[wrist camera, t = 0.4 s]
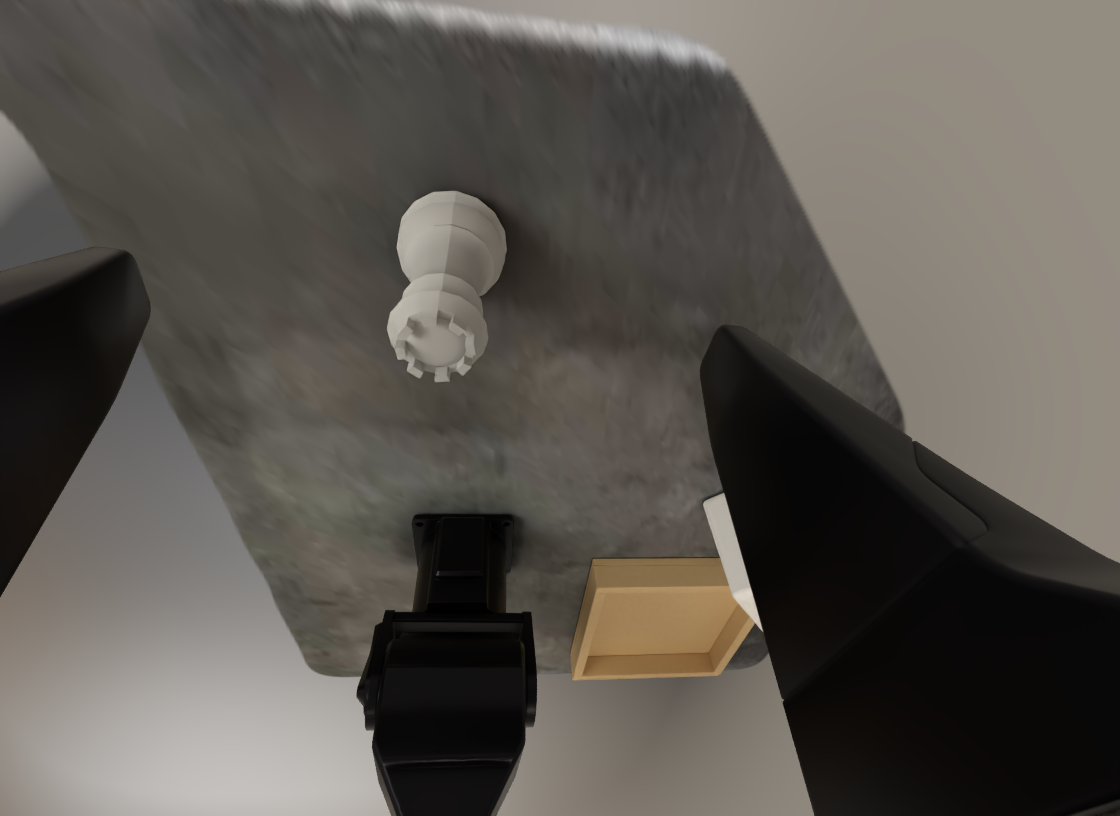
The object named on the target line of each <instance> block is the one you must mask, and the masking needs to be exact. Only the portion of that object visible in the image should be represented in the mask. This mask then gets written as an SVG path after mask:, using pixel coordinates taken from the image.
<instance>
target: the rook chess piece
mask: <svg viewBox="0 0 1120 816" xmlns="http://www.w3.org/2000/svg"><path fill="white" fill-rule="evenodd" d="M397 251H398V255H399V259H400V263H401V267H402V271H403V272H404V273H405V275H406V276H407V278H408V279H409V280H410V282H411V284H410V285H409V286H408V287H407V288H406V289H405V291H404V293H403V297H402V300H401V301H400V302H399V303H398V304H397V306H396V307H395V308H394V309H393V310H392V311H391V313H390V317H389V321H388V326H387V331H388V334H389V338H390V342H391V345H392V346H393V347H394V349H395V351H396V355H397V359H398V360H401V359H404V360H406V361H407V362H409V364H408V368H407V371H408V372H409V373H411V374H413V375H415V376H416V377H418V378H420V377H421V376H422V374H423V372H424V371H428V372H432V373H435V382H445V381H450V374H451V372H456V371H458V372H459V373H460V374H461V375H462V376H463V375H464V374H465V373H466V372H467V371H468V370H469V369H470V368H471V367H472V364H473V363H474V362H475V361H476V360H477V359H478V358H479V357H480V356H482V355H483V353H484V350H485V348H486V345H487V342H488V332H487V324H486V322H485V320H484V319H483V317H482V316H483V308H482V301H481V299H480V296H482V295H484V294H485V293H486V292H487V291H488V290H489V289H490V288H491V287H492V286H493V285H494V284H495V283H496V282H497V280H498V279H499V277H500V274H501V271H502V268H503V265H504V262H505V255H506V252H507V247H506V237H505V230H504V229H503V227H502V225H501V223H500V221H499V219H498V218H497V216H496V214H495V212H493V211H492V210H491V209H490V208H489V207H487V206H486V205H485V204H484V203H483V202H481V201H480V200H479V199H478V198H475V197H472V196H469V195H467V194H464V193H461V192H458V191H443V192H432V193H430V194H428V195H426V196H424V197H422V198H420V199H418V200H416V201H414V203H413V204H412V205H411V206H410V208H409V209H408V210H407V212H406V213H405V214H404V215H403V217H402V220H401V225H400V230H399V234H398V242H397Z"/></svg>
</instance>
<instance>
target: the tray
mask: <svg viewBox="0 0 1120 816" xmlns="http://www.w3.org/2000/svg"><path fill="white" fill-rule="evenodd" d="M754 624H755V622H754V621H753V620H752V619H751V618H750V616H749V615H748V614H747V613H746V612H745V611H744V609H743V608H742V607H741V606H740V605H739V604H738V603H737V601H736V600H735V599H734V598H733V596H732V593H731V590H730V587H729V584H728V581H727V577H726V574H725V571H724V568H723V565H722V562H721V559H720V558H640V559H593V560H592V565H591V569H590V573H589V577H588V582H587V586H586V590H585V594H584V598H583V603H582V607H581V611H580V615H579V619H578V624H577V628H576V632H575V636H574V641H573V645H572V649H571V653H570V657H571V669H572V679H573V680H596V679H628V678H661V677H691V676H719V675H720V674H721V672H722V671H723V670H724V668H725V667H726V665H727V664H728V662H729V661H730V659H731V658H732V656H733V655H734V653H735V652H736V650H737V649H738V647H739V646H740V645H741V643H742V642H743V640H744V639H745V637H746V636H747V634H748V633H749V631H750V630H751V628H752V627H753V625H754Z"/></svg>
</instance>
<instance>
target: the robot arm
mask: <svg viewBox="0 0 1120 816" xmlns="http://www.w3.org/2000/svg"><path fill="white" fill-rule="evenodd" d="M150 309H151V308H150V301H149V298H148V295H147V292H146V289H145V286H144V283H143V280H142V277H141V274H140V271H139V268H138V265H137V263H136V260H135V259H134V257H133V256H132V255H131V254H130V253H129V252H127V251H125V250H120V249H112V248H104V247H90V248H87V249H83V250H79V251H75V252H72V253H68V254H64V255H60V256H57V257H52V258H49V259H45V260H41V261H37V262H33V263H30V264H26V265H22V266H19V267H15V268H11V269H7V270H3V271H0V597H1V595H2V593H3V592H4V590H5V588H6V587H7V585H8V583H9V581H10V580H11V578H12V576H13V575H14V573H15V571H16V569H17V568H18V566H19V564H20V563H21V561H22V559H23V557H24V556H25V554H26V552H27V551H28V549H29V547H30V546H31V544H32V542H33V540H34V539H35V537H36V535H37V534H38V532H39V530H40V528H41V527H42V525H43V523H44V521H45V520H46V518H47V516H48V515H49V513H50V511H51V510H52V508H53V506H54V504H55V503H56V501H57V499H58V498H59V496H60V494H61V492H62V491H63V489H64V487H65V486H66V484H67V482H68V481H69V478H70V477H71V475H72V474H73V472H74V470H75V468H76V467H77V465H78V463H79V462H80V460H81V458H82V457H83V455H84V453H85V451H86V450H87V448H88V446H89V444H90V443H91V441H92V439H93V438H94V436H95V434H96V433H97V431H98V429H99V427H100V426H101V424H102V422H103V421H104V419H105V417H106V415H107V414H108V412H109V410H110V408H111V406H112V405H113V403H114V401H115V399H116V397H117V395H118V392H119V390H120V388H121V386H122V383H123V381H124V379H125V376H126V374H127V371H128V369H129V366H130V364H131V361H132V359H133V357H134V354H135V352H136V349H137V347H138V345H139V342H140V340H141V337H142V335H143V332H144V330H145V328H146V325H147V323H148V320H149V317H150ZM700 380H701V386H702V393H703V399H704V406H705V412H706V418H707V425H708V431H709V437H710V443H711V447H712V451H713V455H714V459H715V463H716V466H717V470H718V473H719V477H720V481H721V484H722V488H723V491H724V495H725V498H726V502H727V505H728V509H729V513H730V516H731V520H732V523H733V527H734V530H735V534H736V537H737V541H738V544H739V548H740V552H741V555H742V559H743V562H744V566H745V569H746V573H747V576H748V580H749V584H750V587H751V591H752V594H753V598H754V601H755V605H756V608H757V612H758V616H759V619H760V623H761V626H762V630H763V633H764V637H765V640H766V644H767V648H768V651H769V655H770V658H771V662H772V665H773V669H774V672H775V676H776V680H777V683H778V687H779V690H780V694H781V697H782V699H784V701H783V706H784V709H785V713H786V716H787V720H788V723H789V727H790V730H791V734H792V738H793V741H794V745H795V748H796V752H797V755H798V759H799V762H800V766H801V769H802V773H803V777H804V780H805V784H806V787H807V791H808V794H809V798H810V801H811V805H812V809H813V812H814V816H1120V563H1118V562H1116V561H1114V560H1111V559H1109V558H1107V557H1105V556H1103V555H1102V554H1100V553H1098V552H1096V551H1094V550H1092V549H1091V548H1089V547H1087V546H1086V545H1084V544H1082V543H1081V542H1079V541H1077V540H1076V539H1074V538H1072V537H1070V536H1069V535H1067V534H1066V533H1064V532H1062V531H1061V530H1059V529H1057V528H1055V527H1054V526H1052V525H1050V524H1049V523H1047V522H1045V521H1044V520H1042V519H1040V518H1039V517H1037V516H1035V515H1034V514H1032V513H1030V512H1029V511H1027V510H1025V509H1023V508H1022V507H1020V506H1019V505H1017V504H1015V503H1014V502H1012V501H1010V500H1009V499H1007V498H1005V497H1003V496H1002V495H1000V494H999V493H997V492H995V491H994V490H992V489H990V488H989V487H987V486H986V485H984V484H982V483H981V482H979V481H977V480H976V479H974V478H973V477H971V476H969V475H968V474H966V473H964V472H963V471H961V470H960V469H958V468H957V467H955V466H954V465H952V464H950V463H949V462H947V461H946V460H944V459H943V458H941V457H940V456H938V455H936V454H935V453H934V452H932V451H931V450H929V449H928V448H926V447H925V446H923V445H921V444H920V443H918V442H917V441H913V442H912V438H911V437H909V436H908V435H906V434H905V433H903V432H902V431H900V430H899V429H897V428H896V427H894V426H893V425H891V424H890V423H888V422H887V421H885V420H884V419H882V418H881V417H879V416H877V415H876V414H874V413H873V412H871V411H870V410H868V409H867V408H865V407H864V406H862V405H861V404H859V403H858V402H856V401H855V400H853V399H852V398H850V397H849V396H847V395H846V394H844V393H843V392H841V391H840V390H838V389H837V388H835V387H834V386H832V385H831V384H829V383H828V382H826V381H825V380H823V379H822V378H820V377H819V376H817V375H816V374H814V373H813V372H811V371H809V370H808V369H806V368H805V367H803V366H802V365H800V364H799V363H797V362H796V361H794V360H793V359H791V358H790V357H788V356H787V355H785V354H784V353H782V352H781V351H779V350H778V349H776V348H775V347H773V346H772V345H770V344H769V343H767V342H766V341H764V340H763V339H761V338H760V337H758V336H757V335H755V334H754V333H752V332H751V331H749V330H748V329H746V328H744V327H739V326H731V325H722V326H720V327H719V328H718V329H717V330H716V332H715V334H714V336H713V338H712V341H711V343H710V345H709V347H708V349H707V352H706V354H705V356H704V358H703V360H702V363H701V367H700ZM412 529H413V536H414V543H415V551H416V558H417V565H418V573H417V581H416V588H415V595H414V603H413V610H412V612H395V610H385V614H384V618H383V622H382V623H380V624H378V625H376V626H375V630H374V635H373V641H372V646H371V650H370V654H369V657H368V660H367V663H366V666H365V668H364V671H363V674H362V676H361V679H360V682H359V685H358V689H357V698H358V700H359V701H360V702H361V704H362V705H363V706H364V715H365V728H366V730H374V734H373V741H372V749H373V755H374V760H375V765H376V771H377V776H378V781H379V784H380V787H381V790H382V792H383V795H384V798H385V800H386V803H387V806H388V808H389V810H390V813H391V816H496V815H497V813H498V811H499V809H500V806H501V805H502V803H503V801H504V799H505V797H506V794H507V793H508V791H509V788H510V787H511V784H512V782H513V780H514V778H515V776H516V772H517V769H518V765H519V762H520V759H521V755H522V752H523V748H524V745H525V727H533V726H534V722H535V716H536V702H537V670H536V658H535V648H534V637H533V627H532V616H531V612H522V613H506V574H508V573H509V572H510V571H511V560H512V545H513V529H514V518H513V517H512V516H510V515H458V514H419V515H415V516H414V517H413V520H412Z"/></svg>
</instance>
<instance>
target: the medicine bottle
mask: <svg viewBox="0 0 1120 816" xmlns="http://www.w3.org/2000/svg"><path fill="white" fill-rule="evenodd" d="M703 506H704V509H705V513H706V516H707V519H708V522H709V525H710V528H711V531H712V534H713V537H714V540H715V543H716V547H717V550H718V553H719V556H720V559H721V562H722V565H723V568H724V571H725V574H726V577H727V581H728V584H729V587H730V590H731V593H732V596H733V598H734V599H735V600H736V601H737V603H738V604H739V605H740V606H741V607H742V608H743V609H744V611H745V612H746V613H747V614H748V615H749V616H750V618H751V619H752V620H753V621H754V622H755V623H756V624H757V626H758V627H759V628H760V629H761V630H762V626H761V623H760V619H759V616H758V612H757V608H756V605H755V601H754V598H753V594H752V591H751V587H750V584H749V580H748V576H747V573H746V569H745V566H744V562H743V559H742V555H741V552H740V548H739V544H738V541H737V537H736V534H735V530H734V527H733V523H732V520H731V516H730V513H729V509H728V505H727V502H726V498H725V495H724V493H722V494H720V495H717V496H715V497H712V498H710V499H707V500H706V501H705V502H704V503H703ZM762 631H763V630H762Z"/></svg>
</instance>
